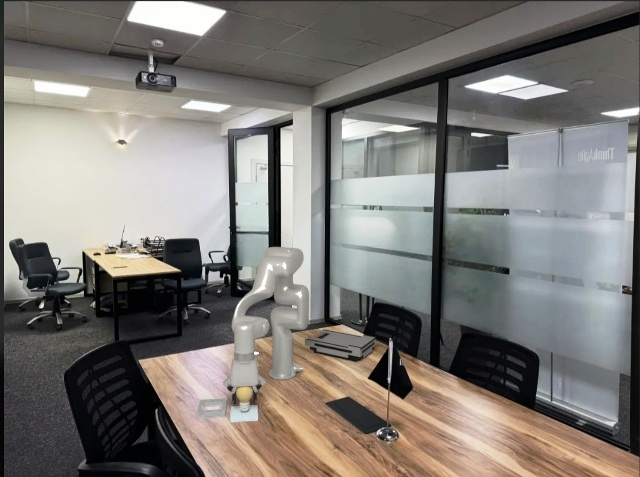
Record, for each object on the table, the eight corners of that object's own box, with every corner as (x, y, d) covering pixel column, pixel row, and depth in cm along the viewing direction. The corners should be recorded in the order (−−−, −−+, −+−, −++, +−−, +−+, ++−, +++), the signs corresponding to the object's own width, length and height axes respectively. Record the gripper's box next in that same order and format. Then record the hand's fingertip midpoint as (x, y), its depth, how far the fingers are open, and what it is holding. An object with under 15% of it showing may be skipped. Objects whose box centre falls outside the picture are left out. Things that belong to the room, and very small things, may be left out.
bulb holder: (226, 404, 166) (226, 398, 166) (224, 417, 157) (224, 410, 157) (200, 405, 165) (200, 399, 165) (197, 418, 155) (197, 412, 155)
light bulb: (249, 415, 155) (249, 388, 154) (233, 413, 156) (233, 386, 155) (255, 406, 161) (255, 381, 160) (239, 404, 163) (239, 379, 162)
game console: (323, 341, 245) (323, 327, 244) (375, 351, 229) (375, 336, 228) (304, 352, 226) (305, 337, 226) (360, 364, 211) (360, 348, 210)
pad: (257, 407, 165) (257, 404, 165) (258, 420, 155) (258, 418, 155) (231, 409, 163) (231, 406, 163) (230, 422, 153) (230, 419, 153)
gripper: (267, 350, 162) (267, 396, 164) (221, 352, 159) (221, 398, 161) (268, 358, 155) (268, 405, 156) (219, 360, 152) (220, 408, 154)
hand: (244, 401), depth 159 cm, fingers closed on light bulb, 6 cm apart
